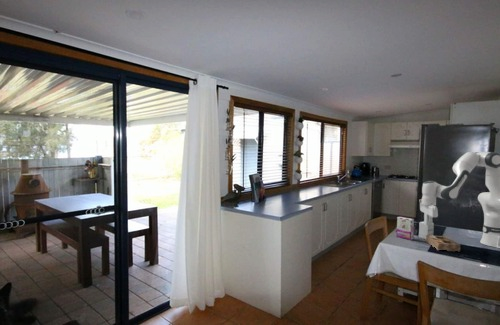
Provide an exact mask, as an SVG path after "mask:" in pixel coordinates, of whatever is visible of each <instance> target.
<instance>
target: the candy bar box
mask: <svg viewBox="0 0 500 325" xmlns="http://www.w3.org/2000/svg"><path fill="white" fill-rule="evenodd" d="M414 224H415V219H414V218H409V217H404V216H397V217H396V238H400V239H405V240H409V241H412V240H414V230H415V228H414Z"/></svg>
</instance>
